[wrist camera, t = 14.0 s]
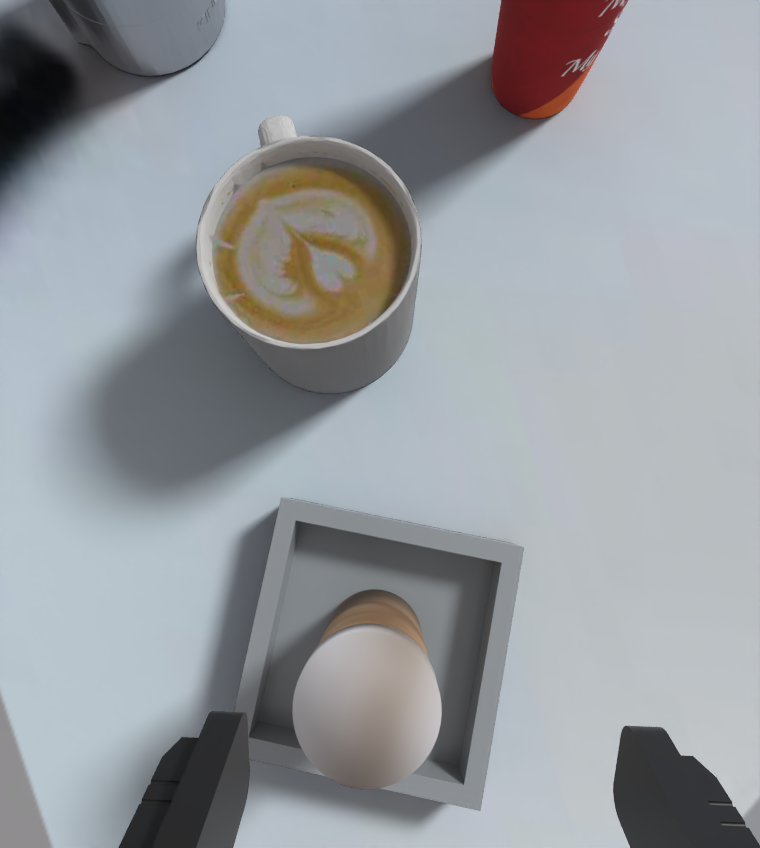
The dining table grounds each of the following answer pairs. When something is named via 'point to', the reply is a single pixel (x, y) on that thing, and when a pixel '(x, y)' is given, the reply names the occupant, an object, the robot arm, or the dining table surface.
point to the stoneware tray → (434, 607)
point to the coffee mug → (313, 258)
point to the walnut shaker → (368, 694)
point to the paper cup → (547, 51)
